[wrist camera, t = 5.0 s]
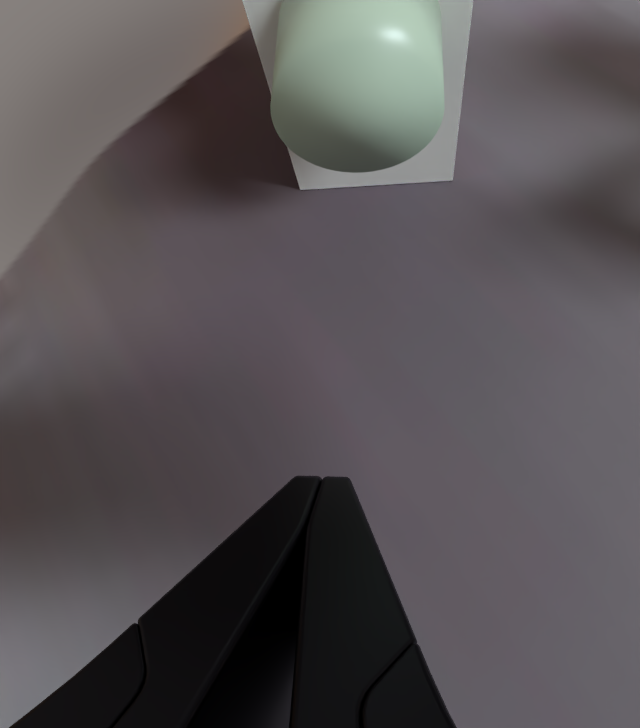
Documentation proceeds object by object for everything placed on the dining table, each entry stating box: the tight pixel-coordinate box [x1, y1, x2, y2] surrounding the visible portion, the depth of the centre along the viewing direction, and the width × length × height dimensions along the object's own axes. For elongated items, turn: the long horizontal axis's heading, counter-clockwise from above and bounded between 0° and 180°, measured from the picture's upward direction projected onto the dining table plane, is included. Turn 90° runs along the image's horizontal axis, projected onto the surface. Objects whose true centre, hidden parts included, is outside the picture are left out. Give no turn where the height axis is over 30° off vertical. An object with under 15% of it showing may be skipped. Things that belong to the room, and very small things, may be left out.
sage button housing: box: [242, 0, 473, 190], centre depth 17 cm, size 5×6×10 cm
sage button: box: [270, 0, 445, 173], centre depth 15 cm, size 6×4×4 cm
